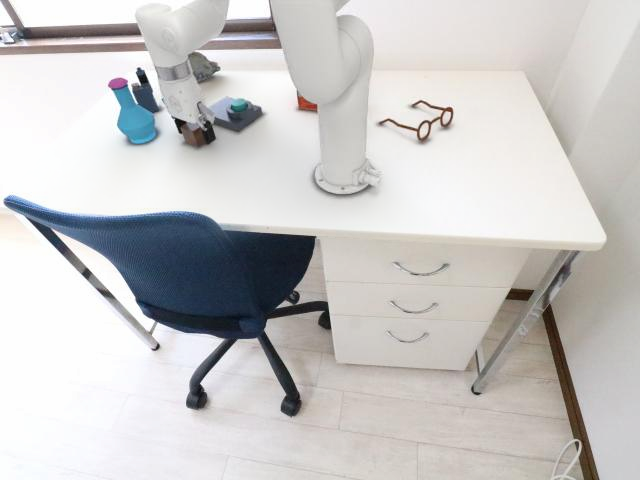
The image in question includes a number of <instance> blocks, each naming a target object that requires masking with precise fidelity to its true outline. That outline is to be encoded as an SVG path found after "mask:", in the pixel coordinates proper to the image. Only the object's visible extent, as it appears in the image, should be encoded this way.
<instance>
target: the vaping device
mask: <svg viewBox="0 0 640 480" xmlns="http://www.w3.org/2000/svg"><path fill="white" fill-rule="evenodd" d="M135 75H136V77H137V79H138V82H139V83H138V82H133V83H131V85H130V86H131V91H132V92H131V93H132V94H133V98H134V100H135V102H136V104H138V105H140V106H141V107H143V108H144V109H146V110H148V111H149V112H151V113H152V114H153V113H156V112H159V111H160V107H159V105H158V103H157V101H156V98H155V96H154V90H153V87H152V85H151V83H150V81H149V79H148V76H147V73H146V71H145V69H142V67H139V66H138V67H137V68H136V71H135Z"/></svg>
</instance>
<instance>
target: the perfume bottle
mask: <svg viewBox="0 0 640 480" xmlns="http://www.w3.org/2000/svg"><path fill="white" fill-rule="evenodd" d="M107 87H108V88H110V90H111V91H112V92H113V94H114V96H115V98H116V100H117V102H118V104H119V106H120V110H119V113H118V117H117V122H116V126H117V128H118V130H119V131H120V132H121V133H122V134H123V135H124V136H125V137H126V138H128V139H129V140H130V142H131V143H133V144H144V143H147V142H150V141H152V140H153V139H154V138H155V137H156V135H157V133H156V119H155V115H154V113H153V112H152V113H151V112H149V111H148V110H146V109H144V108H143V107H141V106H140V105H138V103H137V102H136V100H135V98H134V95H132V94H133V93H132V92H131V90H130V88H129V79H126V78H124V77H115V78H112V79H111V80H109V82H108V83H107Z"/></svg>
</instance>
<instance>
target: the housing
mask: <svg viewBox="0 0 640 480" xmlns="http://www.w3.org/2000/svg"><path fill="white" fill-rule="evenodd" d="M234 99H235V98H234V97H230V96H228V95H226V96H225V97H223V98H221V99H220V100H218V101H217V102H215V103H214V104H211V105H210V106H209V107H207V108H208V109H209V110H211V111H212V112H213V113H214V114H215V119H214V120H215V122H214V124H215V125H218V126H220V127H223V128H226V129H229V130H232V131H235V132H237V133H239V132H240V131H242V130H243V129H245V128H246V127H247V126H249V125H250V124H251V123H253V122H254V121H256V120H257V119H258V118H259V117H261V116H262V115H263V109H262V106H260V105H256V104H254V103H252V102H251V101H249V100H246V99H245V100H246V104H247V108H246V109H244V110H241V111H233V110H232V107H231V101H232V100H234ZM202 120H203V121H206V120H205V119H204V118H203V119H202Z"/></svg>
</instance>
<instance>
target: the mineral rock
mask: <svg viewBox="0 0 640 480" xmlns="http://www.w3.org/2000/svg"><path fill="white" fill-rule="evenodd" d="M188 58H189V61H190V64H191V67H192V71H193V75H194V76H195V78H196V80H197V83H200V82H202V81H204V80H208V79H210V78H211V76H214V74H215V73H218V72H220V71H221V68H222V67H221V66H219V62H216V61H213V60H212V61H211V60H209V59H208V58H207V56H206V55H204V54H203V53H201V52H199V51H194V52H192V53H191V54H188Z"/></svg>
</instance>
